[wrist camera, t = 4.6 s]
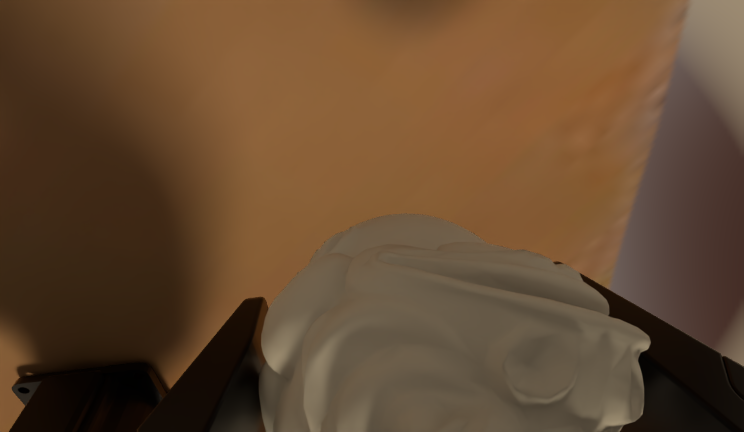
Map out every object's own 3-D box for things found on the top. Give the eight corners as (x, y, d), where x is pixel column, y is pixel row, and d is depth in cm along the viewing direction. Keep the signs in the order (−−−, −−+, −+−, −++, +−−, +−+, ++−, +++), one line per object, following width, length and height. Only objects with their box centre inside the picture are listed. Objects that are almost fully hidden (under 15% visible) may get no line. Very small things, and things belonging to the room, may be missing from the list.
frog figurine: (573, 180, 10) (910, 499, 4) (429, 362, 13) (511, 688, 7) (342, 72, 8) (385, 375, 2) (237, 313, 11) (148, 696, 6)
